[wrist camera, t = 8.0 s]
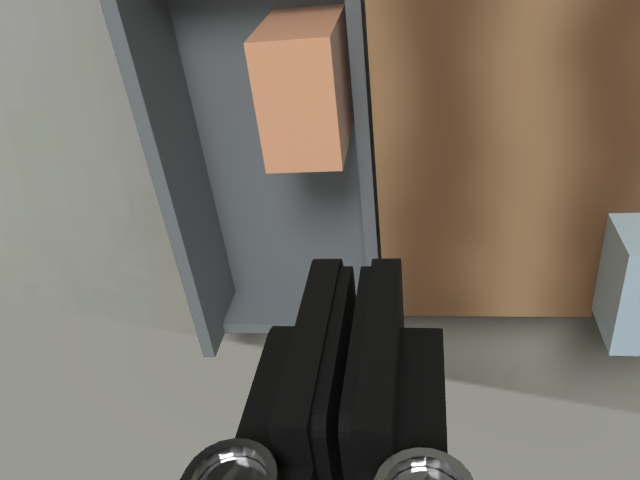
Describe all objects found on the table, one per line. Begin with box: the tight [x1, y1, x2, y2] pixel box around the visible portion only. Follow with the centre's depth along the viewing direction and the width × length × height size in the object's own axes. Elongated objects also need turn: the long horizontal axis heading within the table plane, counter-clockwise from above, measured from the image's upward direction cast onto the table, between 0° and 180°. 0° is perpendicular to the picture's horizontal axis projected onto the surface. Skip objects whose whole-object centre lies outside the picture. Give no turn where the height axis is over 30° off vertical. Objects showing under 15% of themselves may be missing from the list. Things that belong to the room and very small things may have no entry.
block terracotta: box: [243, 3, 354, 174], centre depth 24 cm, size 5×5×3 cm
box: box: [100, 0, 382, 357], centre depth 27 cm, size 9×18×5 cm, turn 6°
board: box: [365, 0, 640, 317], centre depth 25 cm, size 19×15×4 cm
